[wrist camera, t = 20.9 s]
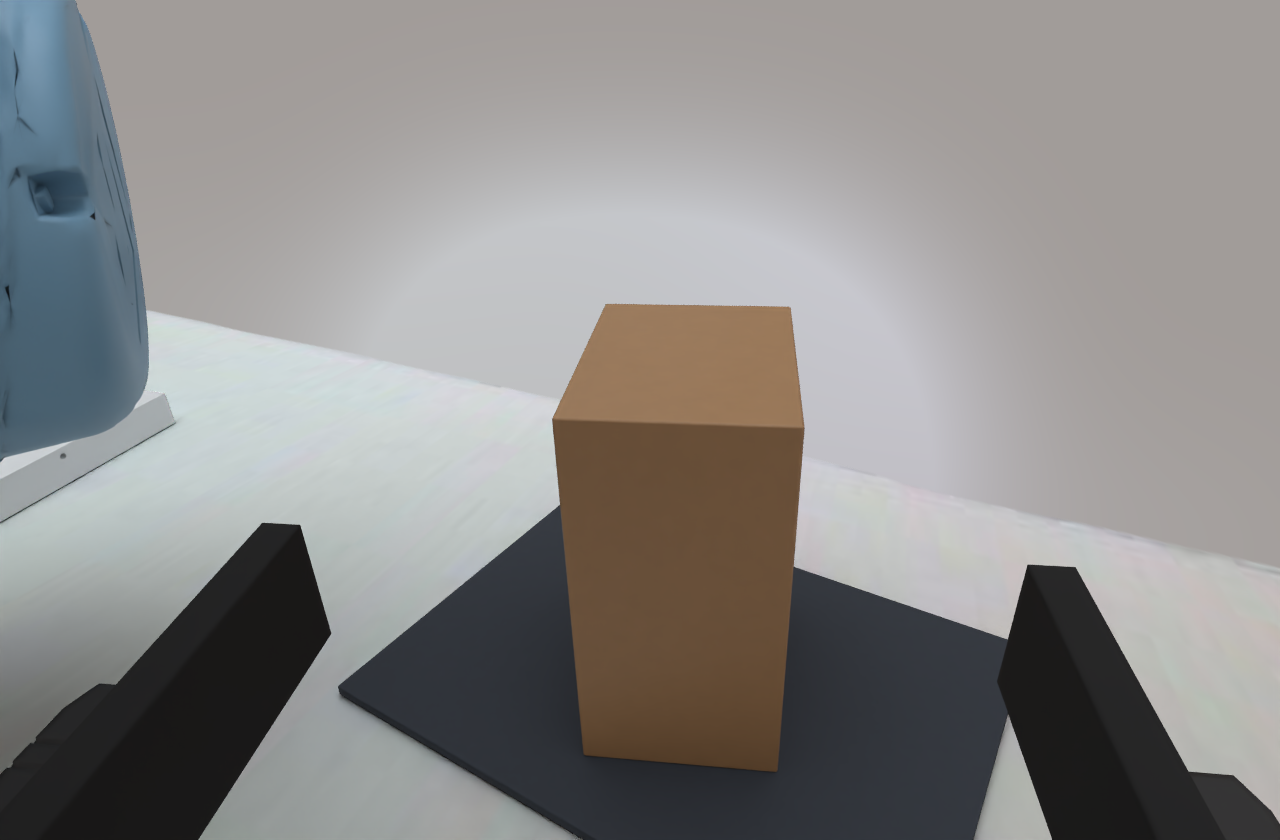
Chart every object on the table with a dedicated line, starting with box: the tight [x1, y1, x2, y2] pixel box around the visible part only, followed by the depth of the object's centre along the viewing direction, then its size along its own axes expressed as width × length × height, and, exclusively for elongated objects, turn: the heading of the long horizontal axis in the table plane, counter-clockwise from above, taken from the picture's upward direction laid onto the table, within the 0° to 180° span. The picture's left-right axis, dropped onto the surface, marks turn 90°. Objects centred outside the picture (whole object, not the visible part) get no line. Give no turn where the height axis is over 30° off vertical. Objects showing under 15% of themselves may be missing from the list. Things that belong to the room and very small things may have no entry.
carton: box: [552, 304, 804, 772], centre depth 25 cm, size 6×8×12 cm
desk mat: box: [338, 505, 1008, 840], centre depth 28 cm, size 20×14×1 cm
